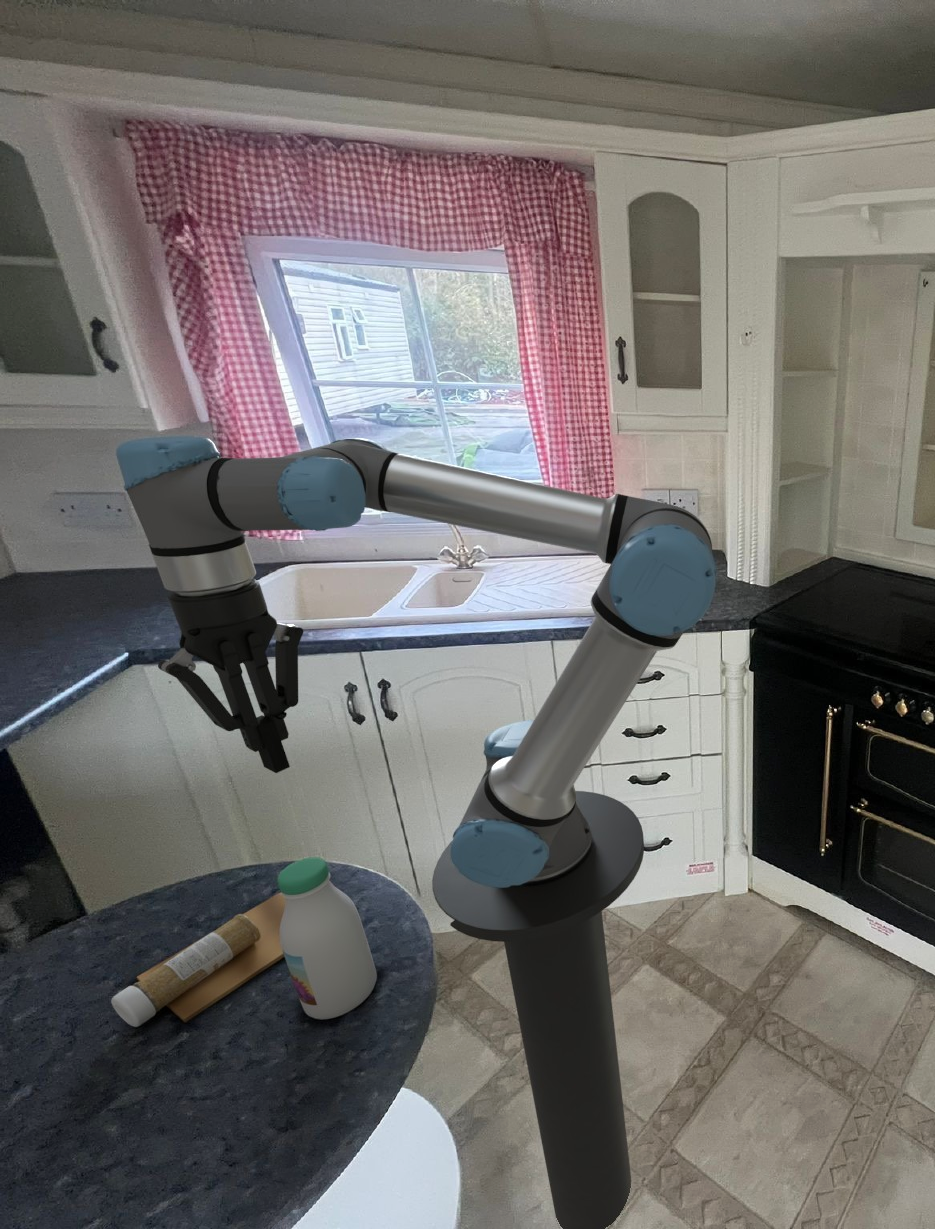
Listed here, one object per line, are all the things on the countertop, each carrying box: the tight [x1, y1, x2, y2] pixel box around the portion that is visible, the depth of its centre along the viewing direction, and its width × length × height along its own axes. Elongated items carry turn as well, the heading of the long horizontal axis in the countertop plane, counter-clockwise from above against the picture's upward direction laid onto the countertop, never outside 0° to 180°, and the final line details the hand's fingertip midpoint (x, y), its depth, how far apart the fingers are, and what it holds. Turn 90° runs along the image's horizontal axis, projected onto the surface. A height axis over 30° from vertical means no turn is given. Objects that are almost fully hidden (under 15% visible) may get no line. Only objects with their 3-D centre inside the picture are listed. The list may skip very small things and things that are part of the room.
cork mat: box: [136, 892, 286, 1023], centre depth 87 cm, size 16×12×1 cm
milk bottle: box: [276, 856, 378, 1020], centre depth 79 cm, size 8×8×20 cm
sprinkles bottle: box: [110, 913, 260, 1028], centre depth 82 cm, size 5×5×14 cm
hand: (277, 766), depth 80 cm, fingers closed
